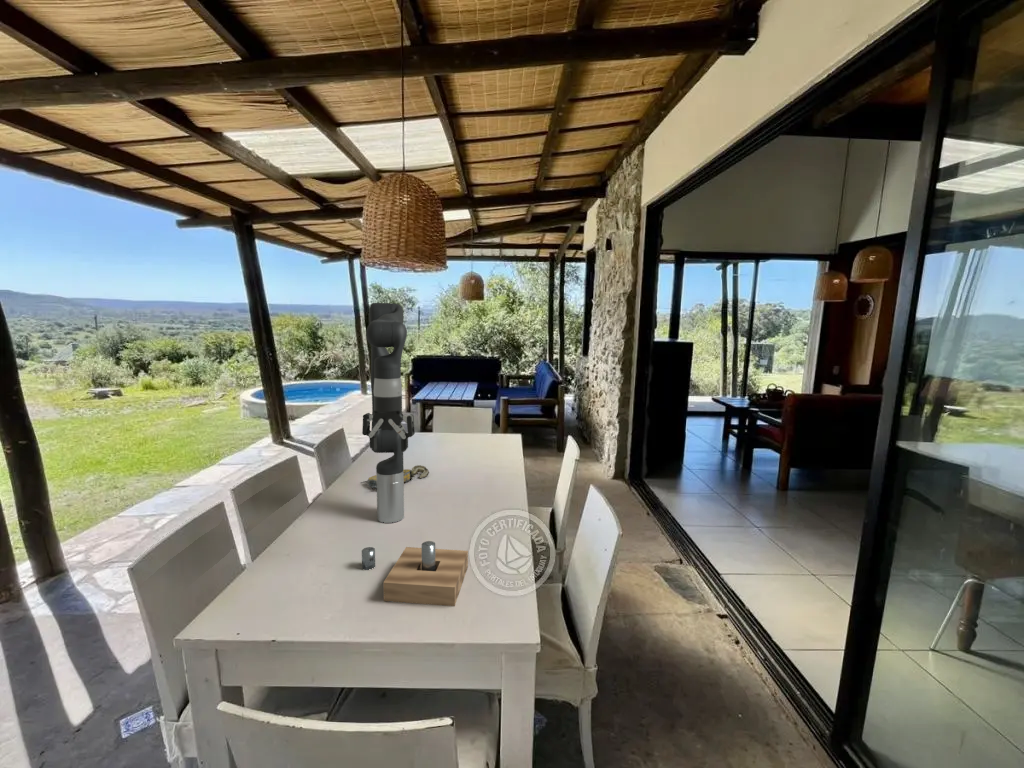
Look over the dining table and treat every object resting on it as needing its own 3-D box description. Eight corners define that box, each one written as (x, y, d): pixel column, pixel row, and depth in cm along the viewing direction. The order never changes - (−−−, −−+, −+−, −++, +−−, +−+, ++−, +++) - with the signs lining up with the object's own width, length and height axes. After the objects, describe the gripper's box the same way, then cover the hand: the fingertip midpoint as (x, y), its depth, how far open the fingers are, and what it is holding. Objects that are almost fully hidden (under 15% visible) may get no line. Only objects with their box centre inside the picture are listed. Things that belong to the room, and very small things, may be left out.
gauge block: (406, 563, 130) (406, 547, 129) (467, 567, 129) (468, 550, 128) (383, 601, 112) (383, 582, 112) (454, 606, 111) (454, 587, 110)
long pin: (423, 578, 122) (423, 540, 121) (436, 579, 122) (436, 541, 121) (420, 586, 119) (419, 547, 117) (433, 587, 118) (433, 548, 117)
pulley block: (436, 464, 200) (372, 479, 180) (437, 477, 200) (373, 494, 180) (420, 462, 211) (358, 475, 191) (421, 474, 211) (359, 489, 191)
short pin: (365, 563, 130) (364, 546, 129) (377, 563, 129) (376, 547, 129) (359, 569, 126) (359, 553, 126) (372, 570, 126) (372, 553, 125)
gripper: (417, 392, 128) (417, 448, 130) (368, 391, 129) (369, 445, 131) (408, 396, 121) (409, 455, 123) (357, 395, 122) (358, 453, 124)
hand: (388, 450), depth 127 cm, fingers open, 8 cm apart
